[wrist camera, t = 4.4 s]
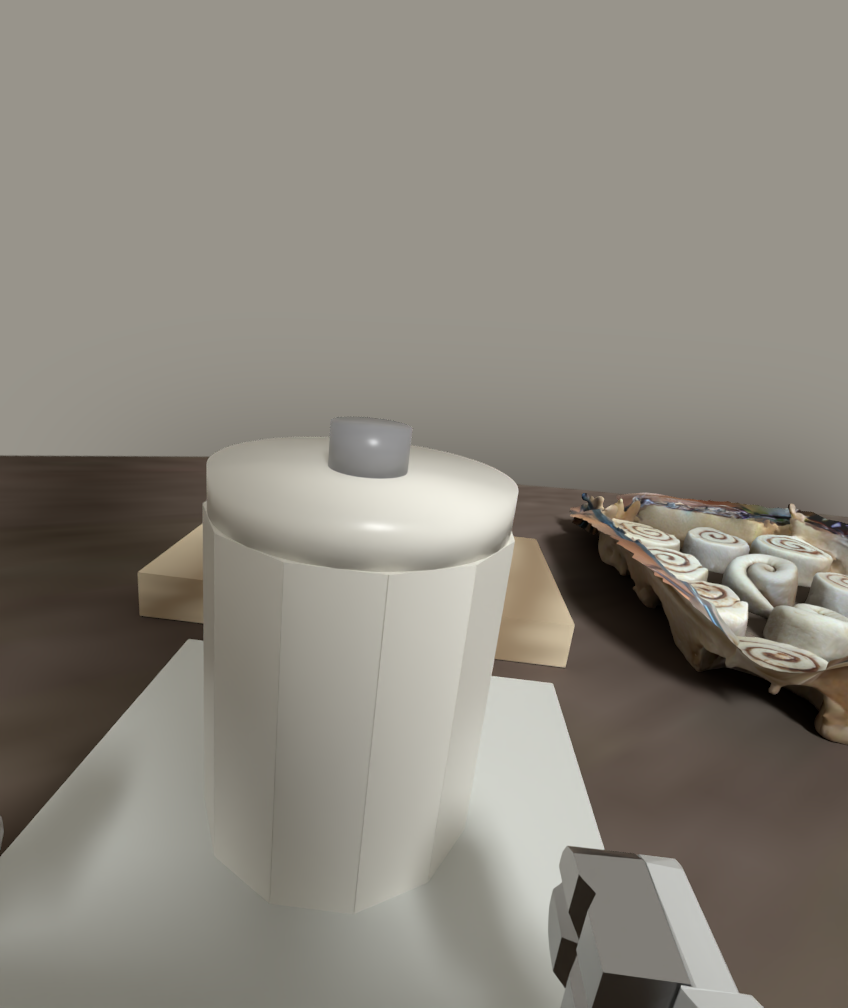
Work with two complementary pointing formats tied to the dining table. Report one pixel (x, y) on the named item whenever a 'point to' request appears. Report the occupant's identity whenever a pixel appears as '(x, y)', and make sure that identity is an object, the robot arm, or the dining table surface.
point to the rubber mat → (276, 928)
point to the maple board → (524, 624)
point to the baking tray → (740, 588)
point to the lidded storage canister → (347, 657)
